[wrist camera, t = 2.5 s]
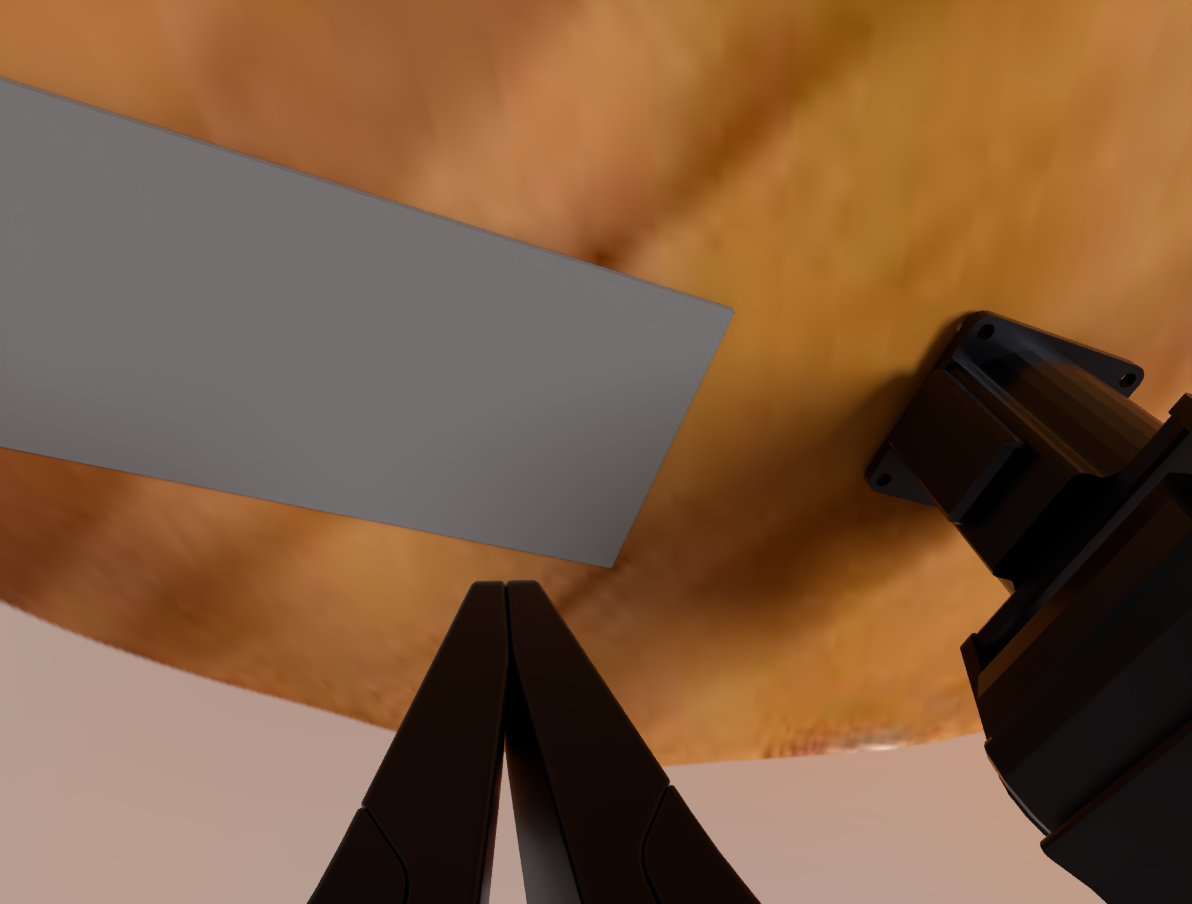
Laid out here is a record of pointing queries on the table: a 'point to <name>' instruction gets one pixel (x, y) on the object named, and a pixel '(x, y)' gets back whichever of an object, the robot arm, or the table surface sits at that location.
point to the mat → (324, 341)
